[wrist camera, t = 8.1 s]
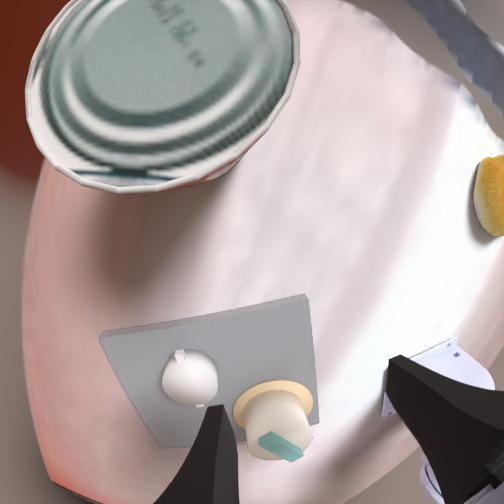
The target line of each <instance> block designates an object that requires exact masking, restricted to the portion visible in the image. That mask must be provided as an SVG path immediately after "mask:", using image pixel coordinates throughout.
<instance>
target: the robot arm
mask: <svg viewBox="0 0 504 504" xmlns="http://www.w3.org/2000/svg"><path fill="white" fill-rule="evenodd" d="M457 340H458V339H457V338H456V337H453V338H451V339H449V340H447V341H445V342H443V343H441V344H439V345H437V346H435V347H433V348H431V349H429V350H427V351H425V352H422V353H420V354H418V355H416V356H414V357H411V358H407V357H404V356H402V355H398V356H396V357H393V358H391V359H389V364H388V372H387V380H386V387H385V394H384V401H383V407H382V413H381V416H382V417H383V418H386V417H388V416H390V415H393V414H395V413H397V414H398V415H399V416H400V418H401V419H402V421H403V422H404V424H405V425H406V426H407V428H408V429H409V431H410V432H411V434H412V435H413V437H414V438H415V439H416V441H417V442H418V444H419V445H420V447H421V448H422V450H423V451H424V455H423V456H421V459H422V461H423V463H424V465H423V466H422V467H421V469H420V483H421V486H422V488H423V490H424V492H425V494H426V495H427V496H428V498H429V499H430V500H431V501H432V502H434V503H435V504H504V391H497V390H495V386H494V382H493V379H492V377H491V375H490V374H489V372H488V371H487V370H486V369H485V368H484V367H483V366H481V365H480V364H479V363H478V362H477V361H476V360H474V359H473V358H472V357H471V356H470V355H468V354H467V353H466V352H465V351H463V350H462V349H461V348H460V347H459V346H457ZM153 504H239V489H238V453H237V446H236V439H235V433H234V430H233V428H232V425H231V423H230V420H229V418H228V415H227V413H226V410H225V407H224V405H223V404H221V405H214V406H208V408H207V409H206V413H205V416H204V419H203V422H202V424H201V427H200V429H199V432H198V434H197V437H196V439H195V441H194V443H193V446H192V448H191V450H190V452H189V454H188V455H187V457H186V459H185V461H184V463H183V465H182V466H181V468H180V470H179V471H178V473H177V474H176V476H175V477H174V479H173V480H172V482H171V483H170V484H169V486H168V487H167V488H166V490H165V491H164V492H163V493H162V494H161V496H160V497H159V498H158V499H157V500H156V501H155V502H154V503H153Z"/></svg>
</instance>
